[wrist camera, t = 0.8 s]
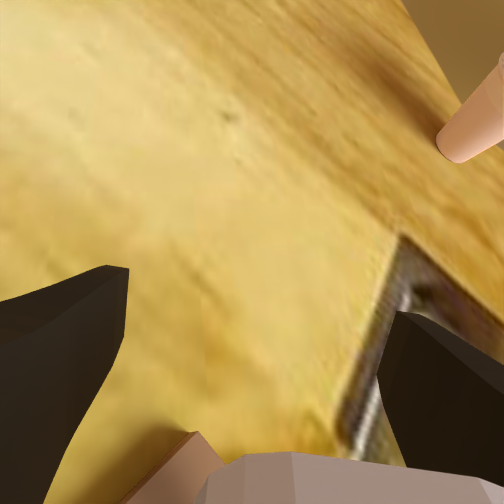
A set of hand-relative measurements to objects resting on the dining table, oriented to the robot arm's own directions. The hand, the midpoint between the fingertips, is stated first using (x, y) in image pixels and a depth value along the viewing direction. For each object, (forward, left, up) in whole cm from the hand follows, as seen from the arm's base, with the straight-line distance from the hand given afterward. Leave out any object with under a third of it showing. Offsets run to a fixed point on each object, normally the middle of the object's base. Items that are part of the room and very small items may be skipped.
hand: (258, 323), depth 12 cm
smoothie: (+35, -1, -16) cm, 38 cm away
